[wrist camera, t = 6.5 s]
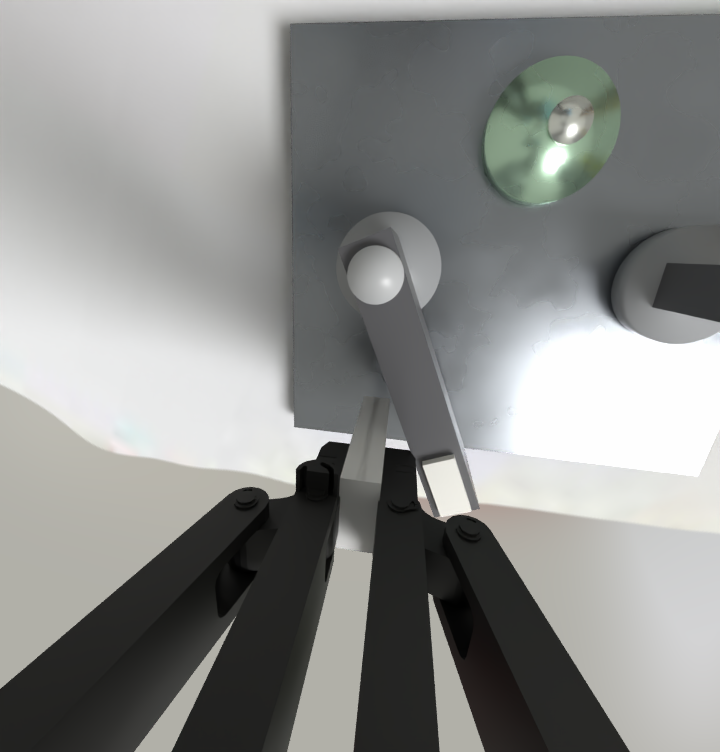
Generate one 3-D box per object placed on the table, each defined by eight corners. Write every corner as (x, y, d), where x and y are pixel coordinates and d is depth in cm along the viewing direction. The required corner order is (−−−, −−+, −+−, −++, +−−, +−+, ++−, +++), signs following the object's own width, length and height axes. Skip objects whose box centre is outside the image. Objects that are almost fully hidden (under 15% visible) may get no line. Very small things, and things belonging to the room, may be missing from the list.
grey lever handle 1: (326, 237, 17) (278, 228, 11) (422, 197, 16) (426, 162, 10) (403, 446, 20) (398, 529, 14) (487, 426, 19) (522, 506, 13)
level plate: (300, 418, 22) (288, 435, 20) (299, 39, 16) (281, 8, 14) (681, 463, 20) (712, 488, 17) (864, 30, 13) (948, -11, 11)
